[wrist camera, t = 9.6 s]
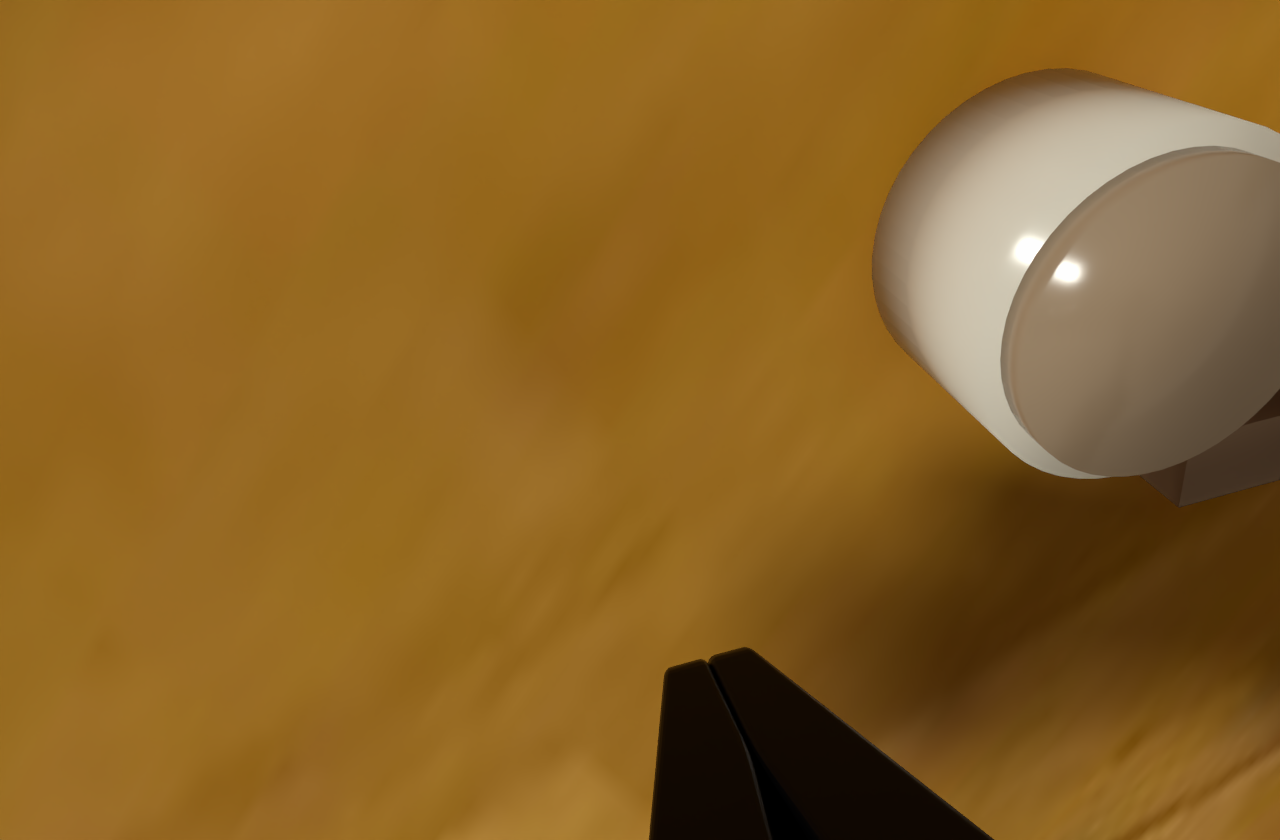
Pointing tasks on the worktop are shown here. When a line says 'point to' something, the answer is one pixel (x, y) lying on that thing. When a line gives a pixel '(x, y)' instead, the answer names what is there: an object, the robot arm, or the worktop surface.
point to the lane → (1227, 462)
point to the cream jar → (1089, 270)
